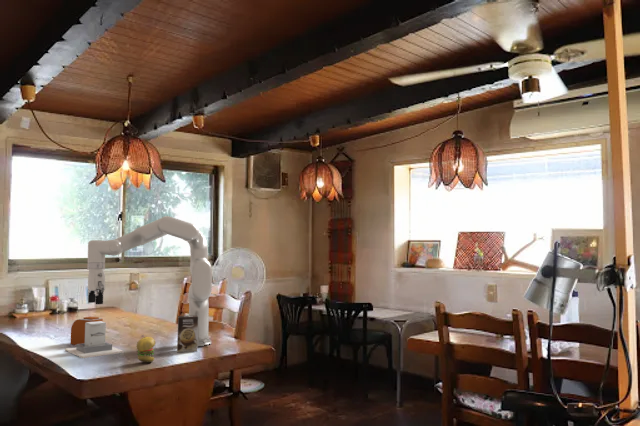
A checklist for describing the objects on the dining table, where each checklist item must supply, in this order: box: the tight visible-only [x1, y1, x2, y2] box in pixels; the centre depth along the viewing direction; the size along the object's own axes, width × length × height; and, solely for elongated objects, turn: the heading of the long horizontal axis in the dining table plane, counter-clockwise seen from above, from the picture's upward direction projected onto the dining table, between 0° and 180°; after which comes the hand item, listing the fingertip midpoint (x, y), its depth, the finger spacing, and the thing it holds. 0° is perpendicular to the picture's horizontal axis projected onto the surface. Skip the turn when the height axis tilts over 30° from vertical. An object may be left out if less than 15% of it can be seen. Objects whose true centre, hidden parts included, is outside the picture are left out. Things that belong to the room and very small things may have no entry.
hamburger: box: [136, 334, 157, 363], centre depth 215 cm, size 8×7×12 cm
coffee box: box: [176, 315, 198, 353], centre depth 240 cm, size 9×6×16 cm
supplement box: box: [85, 321, 107, 347], centre depth 239 cm, size 7×7×13 cm
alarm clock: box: [70, 316, 104, 346], centre depth 257 cm, size 15×8×14 cm, turn 59°
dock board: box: [64, 341, 125, 359], centre depth 239 cm, size 24×18×3 cm
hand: (95, 303), depth 240 cm, fingers open, 9 cm apart
